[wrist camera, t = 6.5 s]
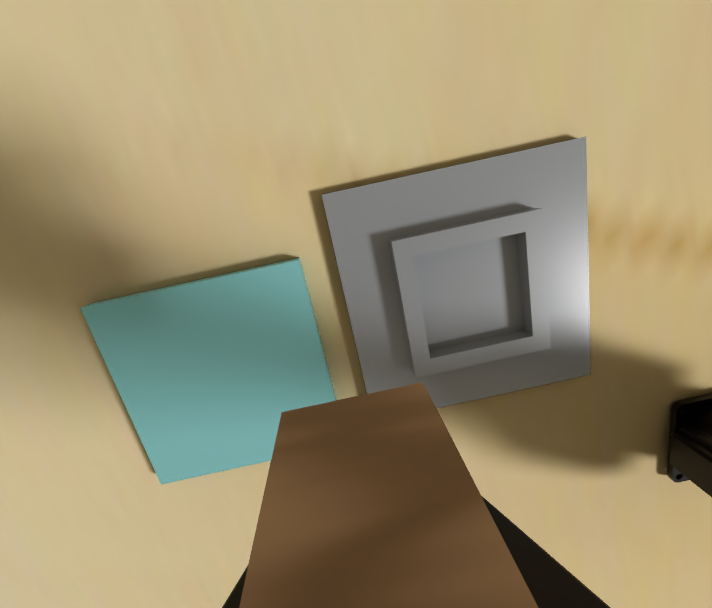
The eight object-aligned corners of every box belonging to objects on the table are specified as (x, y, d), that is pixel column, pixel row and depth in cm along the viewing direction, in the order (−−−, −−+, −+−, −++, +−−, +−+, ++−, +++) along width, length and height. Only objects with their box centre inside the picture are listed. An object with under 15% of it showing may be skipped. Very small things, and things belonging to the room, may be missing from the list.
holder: (578, 138, 19) (599, 133, 17) (584, 370, 23) (602, 382, 21) (321, 195, 19) (320, 194, 18) (372, 416, 23) (375, 431, 22)
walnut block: (422, 382, 10) (740, 1004, 2) (440, 494, 11) (688, 1151, 3) (281, 412, 10) (120, 1154, 2) (313, 521, 11) (282, 1252, 3)
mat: (299, 257, 20) (298, 260, 19) (345, 435, 23) (346, 443, 23) (89, 303, 20) (80, 308, 19) (166, 475, 23) (161, 484, 23)
